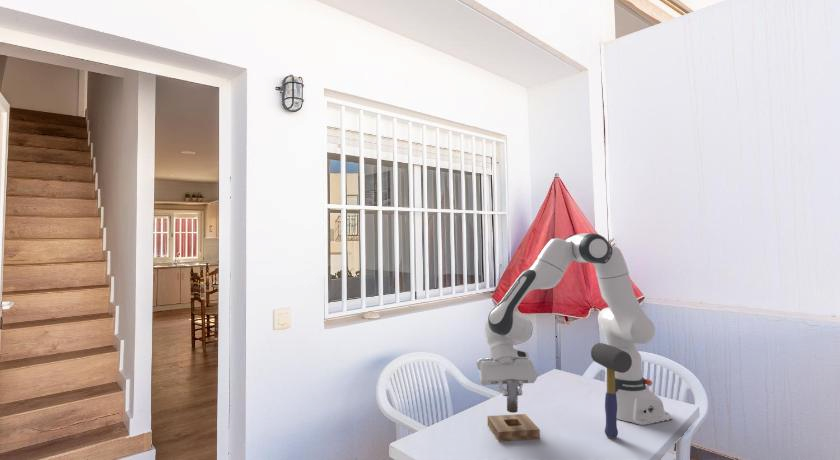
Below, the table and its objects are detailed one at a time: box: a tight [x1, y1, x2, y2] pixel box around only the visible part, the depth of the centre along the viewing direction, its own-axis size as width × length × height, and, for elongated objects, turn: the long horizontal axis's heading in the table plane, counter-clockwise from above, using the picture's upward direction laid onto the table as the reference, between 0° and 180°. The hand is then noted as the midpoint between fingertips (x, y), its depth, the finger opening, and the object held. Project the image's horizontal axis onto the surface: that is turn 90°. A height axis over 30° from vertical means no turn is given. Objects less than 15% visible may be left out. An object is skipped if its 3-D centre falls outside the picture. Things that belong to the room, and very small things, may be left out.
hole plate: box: [487, 413, 541, 442], centre depth 139 cm, size 14×12×3 cm
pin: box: [506, 379, 519, 414], centre depth 139 cm, size 4×4×10 cm
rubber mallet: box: [590, 342, 632, 439], centre depth 135 cm, size 12×8×30 cm, turn 14°
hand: (512, 395), depth 138 cm, fingers closed on pin, 4 cm apart
